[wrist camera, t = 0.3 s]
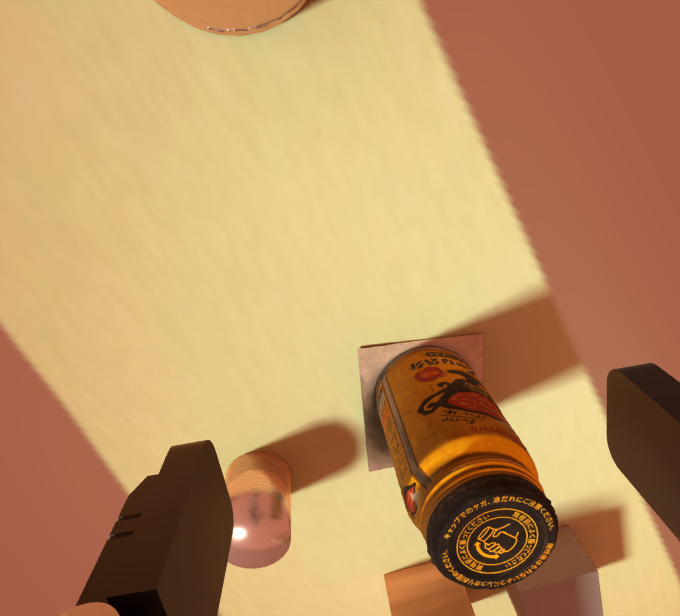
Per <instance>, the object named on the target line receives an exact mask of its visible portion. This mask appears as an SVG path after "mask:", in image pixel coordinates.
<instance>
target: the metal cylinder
mask: <svg viewBox="0 0 680 616" xmlns="http://www.w3.org/2000/svg"><path fill="white" fill-rule="evenodd" d="M225 483H226V486H227V489H228V493H229V496H230V499H231V503H232V509H233V518H234V527H233V536H232V541H231V546H230V551H229V556H228V562H229V563H231V564H233V565H235V566H238V567H242V568H262V567H266V566H269V565H271V564H273V563H275V562H277V561H278V560H279V559H281V558H282V557H283V556H284V555H285V553H286V552H287V550H288V549H289V546H290V542H291V473H290V470H289V467H288V466H287V464H286V463H285V462H284V461H283V460H282V459H281V458H280V457H278V456H276V455H274V454H272V453H268V452H262V451H255V452H249V453H246V454H243V455H241V456H239V457H238V458H236V459H235V460H234V461H233V462H232V463H231V464H230V466H229V468H228V470H227V473H226V478H225Z"/></svg>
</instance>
